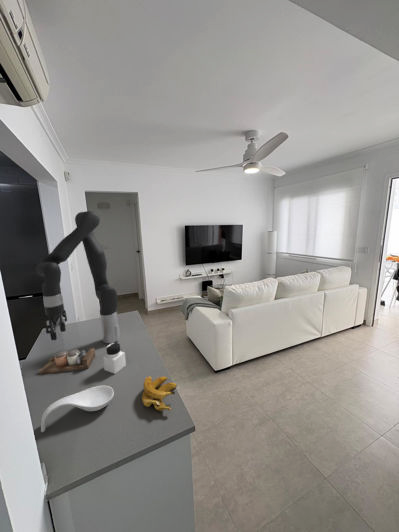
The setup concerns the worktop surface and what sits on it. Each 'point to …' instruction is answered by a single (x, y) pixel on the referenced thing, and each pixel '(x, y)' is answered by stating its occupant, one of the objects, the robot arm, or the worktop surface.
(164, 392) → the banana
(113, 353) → the medicine bottle
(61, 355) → the terracotta jar
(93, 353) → the lane
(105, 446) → the worktop surface
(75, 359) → the cream jar
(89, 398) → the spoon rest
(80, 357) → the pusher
